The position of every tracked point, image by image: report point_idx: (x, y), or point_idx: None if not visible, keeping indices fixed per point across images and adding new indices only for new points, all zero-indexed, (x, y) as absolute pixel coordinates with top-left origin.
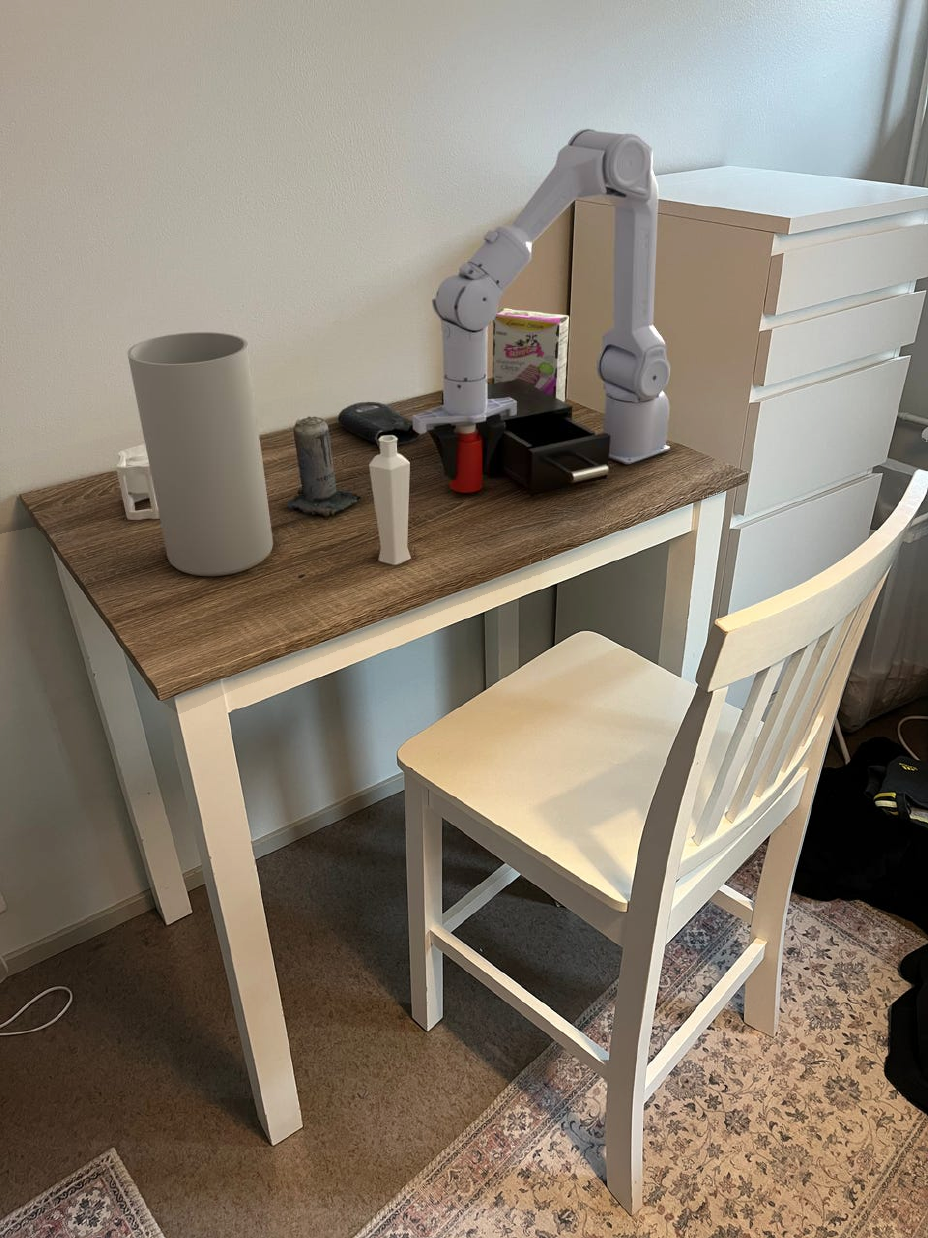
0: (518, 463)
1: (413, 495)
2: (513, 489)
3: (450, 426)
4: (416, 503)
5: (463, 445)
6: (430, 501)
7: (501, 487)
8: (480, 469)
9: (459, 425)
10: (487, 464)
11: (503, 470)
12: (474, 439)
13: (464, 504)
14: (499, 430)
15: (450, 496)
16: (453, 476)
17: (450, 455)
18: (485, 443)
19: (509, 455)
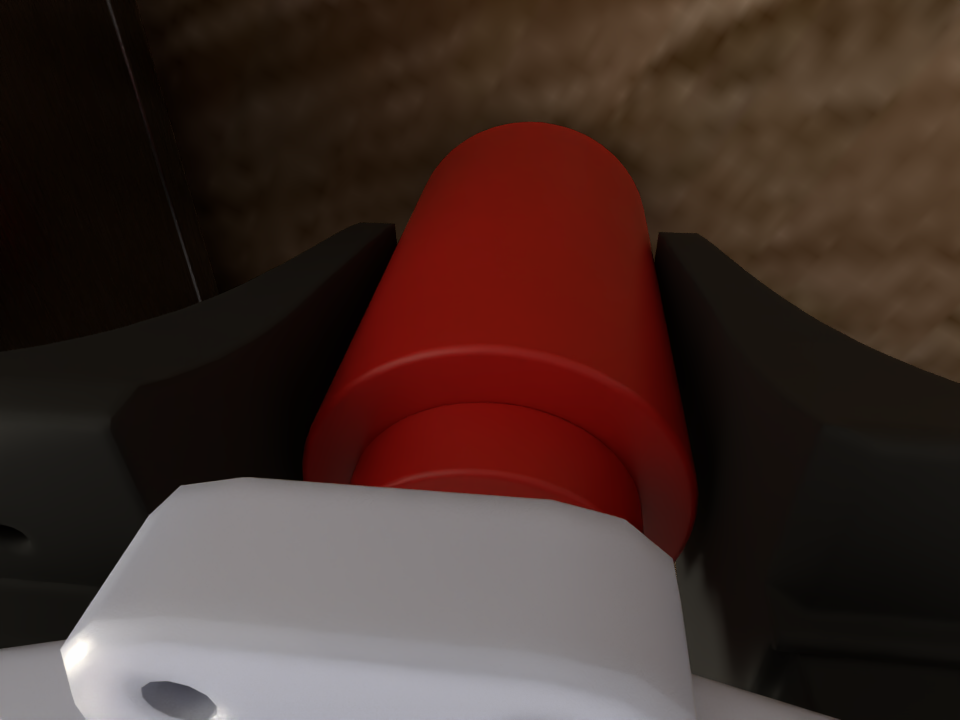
0: (66, 122)
1: (848, 332)
2: (219, 86)
3: (833, 702)
4: (930, 224)
5: (629, 375)
6: (830, 204)
7: (288, 159)
8: (437, 203)
9: None
10: (348, 236)
11: (212, 282)
12: (441, 412)
13: (664, 28)
14: (25, 366)
15: (664, 206)
16: (691, 237)
17: (806, 329)
18: (297, 369)
19: (112, 283)
